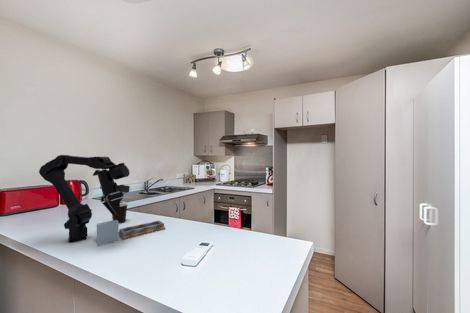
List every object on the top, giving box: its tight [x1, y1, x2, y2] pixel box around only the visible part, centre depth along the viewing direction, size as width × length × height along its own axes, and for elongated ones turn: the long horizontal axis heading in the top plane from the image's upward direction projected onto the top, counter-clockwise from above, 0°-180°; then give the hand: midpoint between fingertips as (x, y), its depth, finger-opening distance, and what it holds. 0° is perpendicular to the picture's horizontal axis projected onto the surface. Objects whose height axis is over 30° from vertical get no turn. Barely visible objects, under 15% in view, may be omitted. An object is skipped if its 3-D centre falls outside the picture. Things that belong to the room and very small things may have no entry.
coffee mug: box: [111, 203, 128, 224], centre depth 124 cm, size 12×9×10 cm
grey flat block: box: [96, 219, 120, 247], centre depth 94 cm, size 8×3×9 cm, turn 132°
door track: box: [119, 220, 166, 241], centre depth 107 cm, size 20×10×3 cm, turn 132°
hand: (116, 214), depth 96 cm, fingers open, 9 cm apart
